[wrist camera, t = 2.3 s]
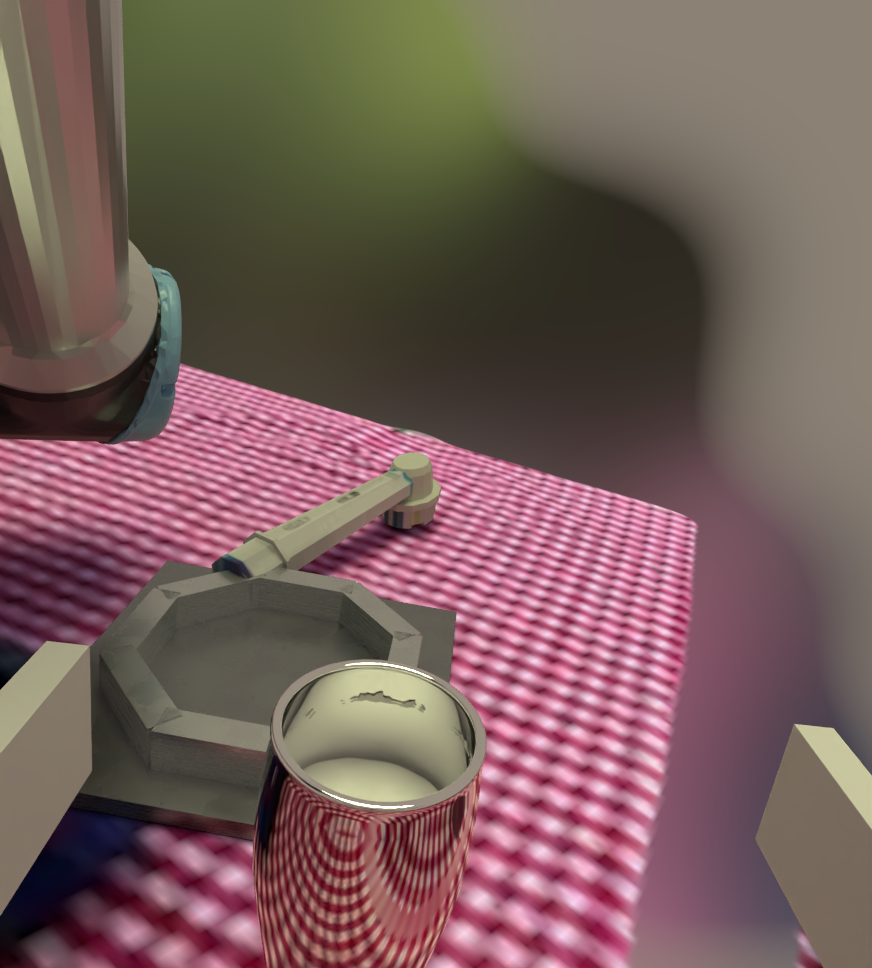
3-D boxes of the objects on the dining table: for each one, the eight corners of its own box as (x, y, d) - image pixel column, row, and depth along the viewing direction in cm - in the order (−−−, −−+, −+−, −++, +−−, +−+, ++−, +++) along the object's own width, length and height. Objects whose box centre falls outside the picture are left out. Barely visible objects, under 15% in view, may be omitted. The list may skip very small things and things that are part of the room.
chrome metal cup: (376, 1192, 24) (451, 856, 18) (195, 1089, 26) (213, 755, 20) (446, 995, 30) (518, 698, 25) (296, 923, 32) (331, 631, 27)
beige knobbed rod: (202, 543, 52) (408, 432, 71) (210, 619, 55) (405, 493, 74) (256, 570, 50) (454, 447, 68) (261, 648, 53) (450, 510, 72)
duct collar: (-22, 789, 36) (-27, 734, 35) (167, 572, 56) (168, 532, 55) (428, 872, 35) (439, 819, 34) (454, 623, 56) (461, 584, 55)
